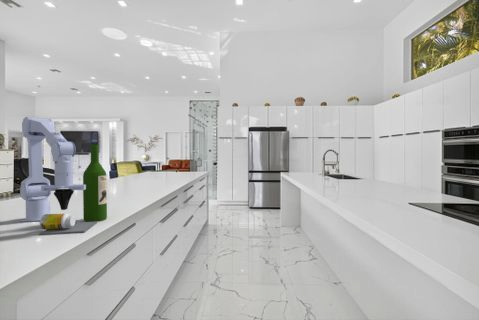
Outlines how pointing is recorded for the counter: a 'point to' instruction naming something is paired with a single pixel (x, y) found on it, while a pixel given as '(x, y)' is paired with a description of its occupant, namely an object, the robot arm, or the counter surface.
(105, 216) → the wine bottle
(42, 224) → the supplement bottle
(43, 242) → the counter surface
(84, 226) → the mat
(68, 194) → the robot arm
